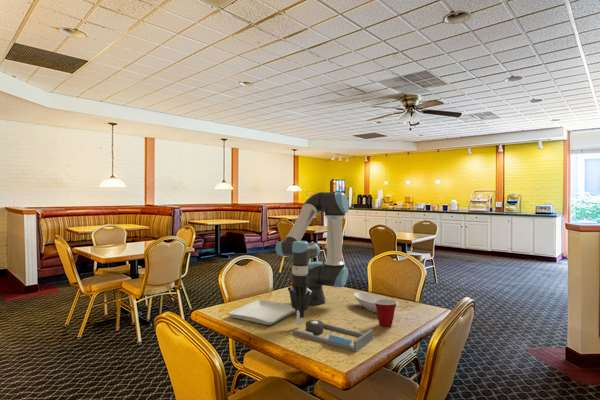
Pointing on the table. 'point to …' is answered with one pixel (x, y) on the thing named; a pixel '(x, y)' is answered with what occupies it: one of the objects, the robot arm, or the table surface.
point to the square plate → (263, 312)
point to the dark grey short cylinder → (314, 327)
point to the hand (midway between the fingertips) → (299, 324)
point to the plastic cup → (385, 311)
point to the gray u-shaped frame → (340, 338)
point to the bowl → (369, 300)
